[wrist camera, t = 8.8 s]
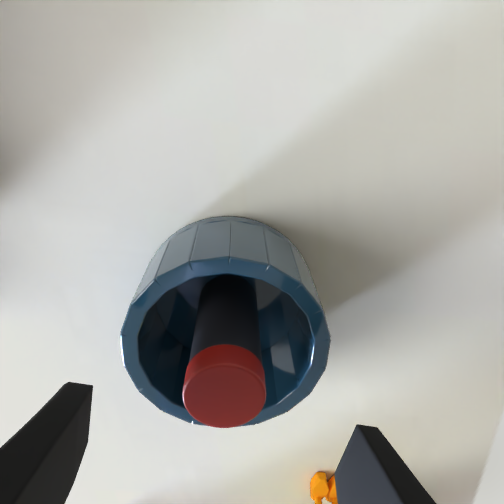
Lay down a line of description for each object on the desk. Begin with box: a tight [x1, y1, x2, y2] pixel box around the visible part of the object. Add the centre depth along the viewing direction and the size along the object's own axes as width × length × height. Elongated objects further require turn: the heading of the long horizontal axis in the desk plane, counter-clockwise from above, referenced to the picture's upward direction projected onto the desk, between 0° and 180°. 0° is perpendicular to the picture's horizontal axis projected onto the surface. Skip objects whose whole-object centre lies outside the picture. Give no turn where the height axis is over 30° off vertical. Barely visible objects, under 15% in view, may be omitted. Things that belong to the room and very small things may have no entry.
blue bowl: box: [120, 216, 331, 427], centre depth 16 cm, size 7×7×4 cm
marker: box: [182, 275, 266, 428], centre depth 14 cm, size 2×2×6 cm
